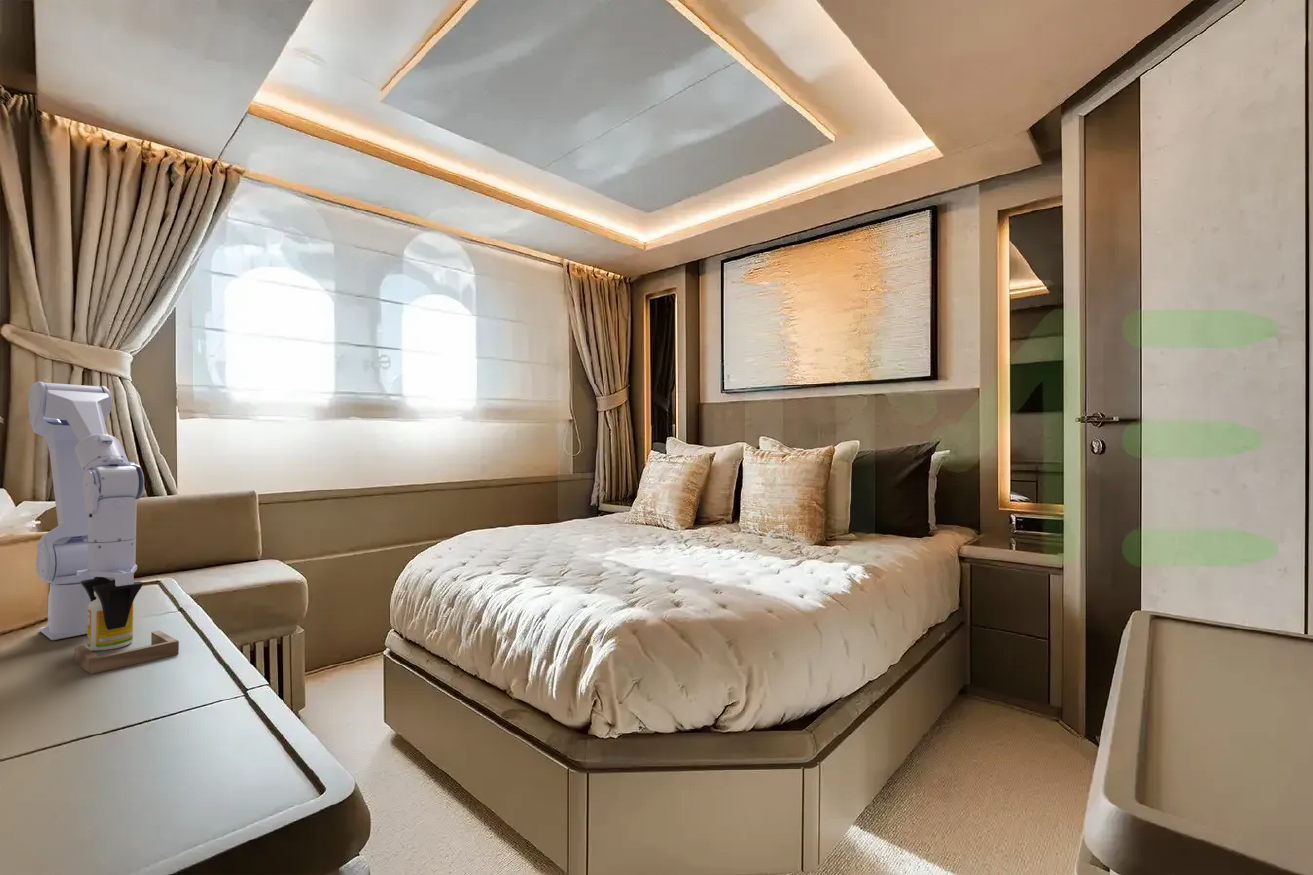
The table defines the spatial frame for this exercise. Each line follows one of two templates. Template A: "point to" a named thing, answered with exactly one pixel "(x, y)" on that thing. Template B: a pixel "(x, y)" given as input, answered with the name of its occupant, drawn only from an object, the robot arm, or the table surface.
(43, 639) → the table surface
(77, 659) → the bay
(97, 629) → the supplement bottle
